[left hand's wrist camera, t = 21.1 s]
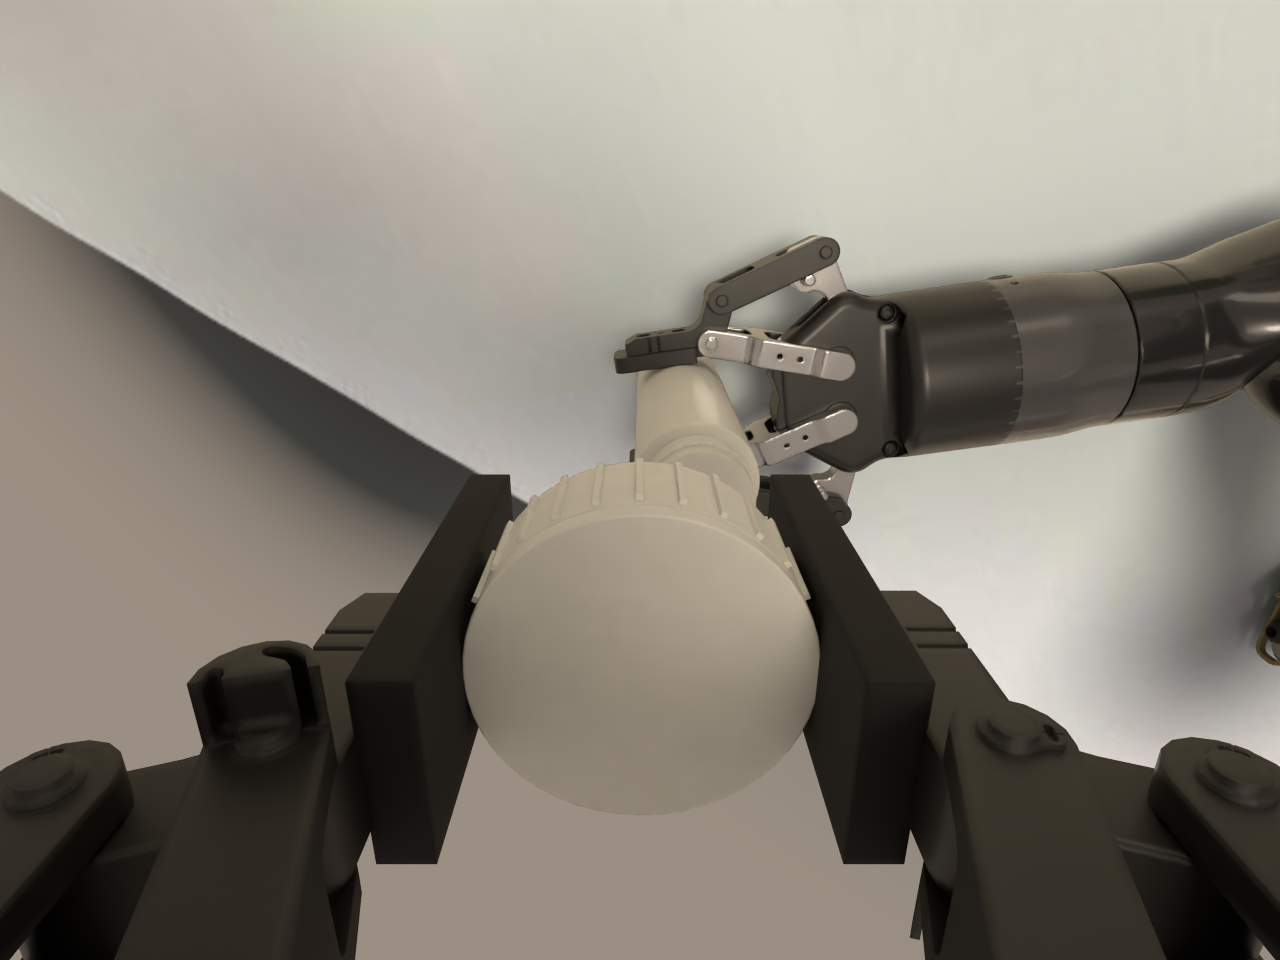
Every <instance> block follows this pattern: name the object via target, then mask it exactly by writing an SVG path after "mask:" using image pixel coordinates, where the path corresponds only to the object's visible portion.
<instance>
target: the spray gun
mask: <svg viewBox="0 0 1280 960" xmlns="http://www.w3.org/2000/svg"><path fill="white" fill-rule="evenodd" d="M1275 597H1276V598H1277V599H1278V603H1277V605H1276V607H1275V609H1274V611H1273V612H1272V614H1271V616H1270V618H1269V620H1268V622H1267V624H1266V626H1265V628H1264V630H1263V631H1262V633H1261V635H1260V637H1259V639H1258V641H1257V644H1256V650H1257V653H1258V654H1259V656H1260V657H1261V658H1263V659H1264V660H1265V661H1267V662H1268V663H1270V664H1272V665H1279V666H1280V591H1279V592H1278V593H1276V594H1275ZM1268 639H1269V640H1270V641H1271V642H1273V643H1272V650H1273V653H1274V655H1275V657H1276V658H1277V659H1278V660H1275V659H1274V658H1273V657H1271V656H1270V655H1269V654H1268V653H1267V652H1266V650H1265V645H1266V642H1267V641H1268Z"/></svg>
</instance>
